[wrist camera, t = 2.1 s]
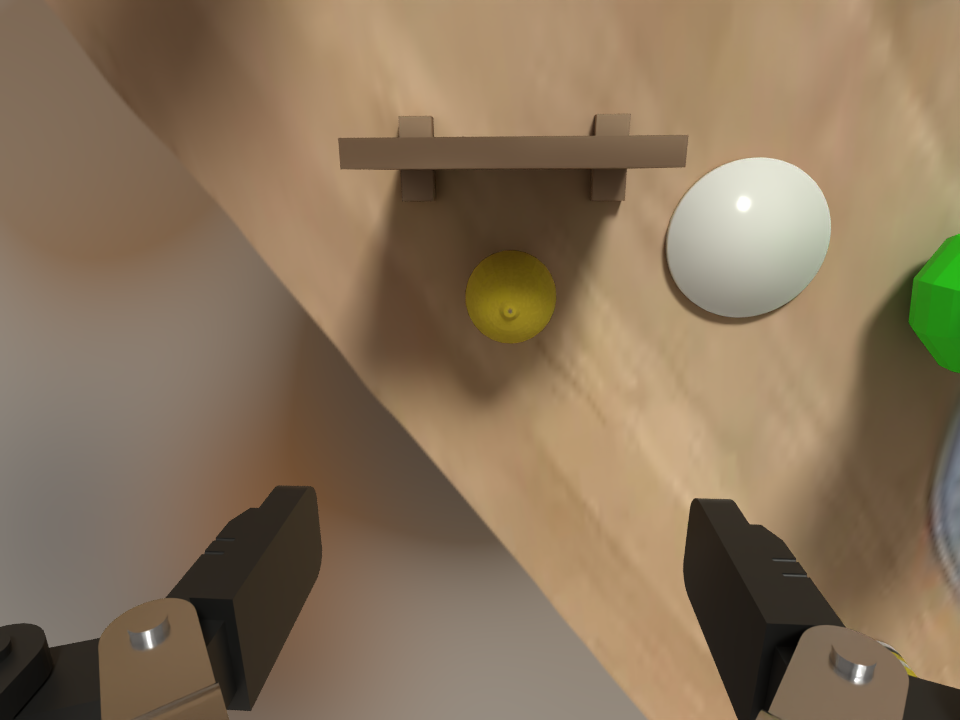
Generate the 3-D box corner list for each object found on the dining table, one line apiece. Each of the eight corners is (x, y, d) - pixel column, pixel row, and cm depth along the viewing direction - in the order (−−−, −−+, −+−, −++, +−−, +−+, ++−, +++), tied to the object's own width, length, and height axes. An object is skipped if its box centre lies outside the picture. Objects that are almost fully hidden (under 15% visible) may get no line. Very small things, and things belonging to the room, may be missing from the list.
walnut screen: (401, 117, 36) (334, 86, 23) (627, 115, 35) (693, 82, 22) (405, 200, 38) (344, 216, 24) (621, 199, 37) (680, 215, 24)
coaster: (673, 158, 36) (676, 158, 35) (839, 157, 35) (844, 156, 35) (658, 314, 39) (660, 316, 38) (811, 316, 38) (815, 318, 38)
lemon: (557, 316, 40) (567, 351, 32) (478, 329, 40) (469, 366, 33) (545, 236, 38) (552, 252, 30) (463, 250, 39) (450, 270, 31)
